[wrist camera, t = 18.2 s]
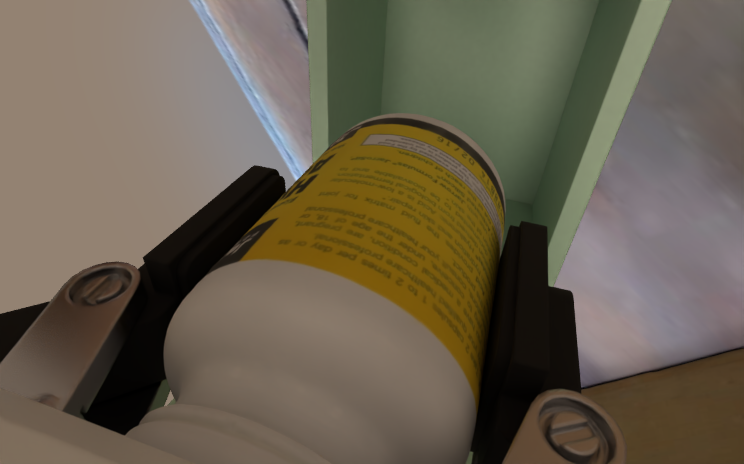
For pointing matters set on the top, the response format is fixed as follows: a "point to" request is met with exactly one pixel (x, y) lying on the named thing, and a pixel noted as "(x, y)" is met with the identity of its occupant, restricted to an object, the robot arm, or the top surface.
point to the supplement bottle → (345, 312)
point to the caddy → (681, 412)
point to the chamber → (491, 86)
